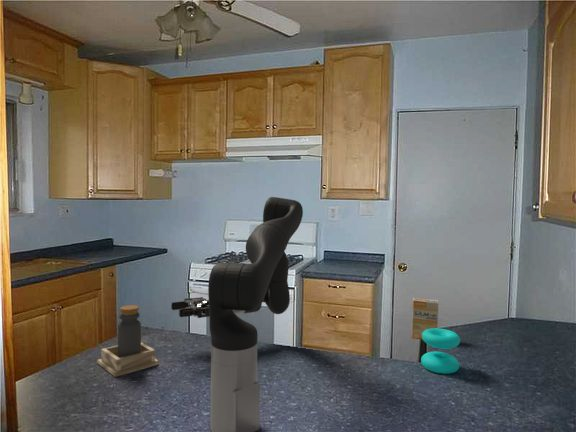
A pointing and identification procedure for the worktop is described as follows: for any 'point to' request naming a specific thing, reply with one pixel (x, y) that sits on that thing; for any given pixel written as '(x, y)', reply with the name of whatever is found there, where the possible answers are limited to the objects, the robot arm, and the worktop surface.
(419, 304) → the supplement box
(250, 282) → the robot arm
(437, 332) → the donuts
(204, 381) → the worktop surface
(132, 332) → the bottle
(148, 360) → the bottle holder
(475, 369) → the worktop surface
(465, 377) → the worktop surface
